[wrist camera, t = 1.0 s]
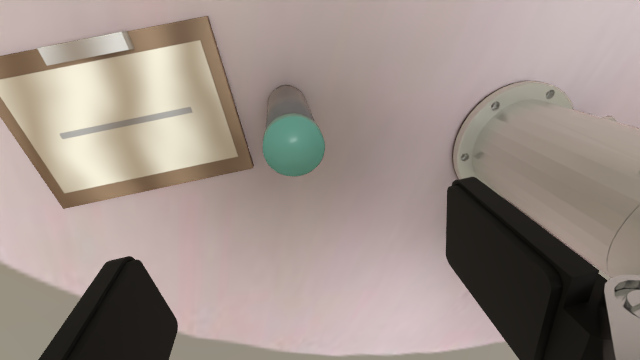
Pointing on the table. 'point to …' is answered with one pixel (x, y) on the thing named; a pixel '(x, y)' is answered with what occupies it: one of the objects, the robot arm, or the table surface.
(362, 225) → the table surface
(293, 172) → the marker
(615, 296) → the robot arm
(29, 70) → the clipboard
